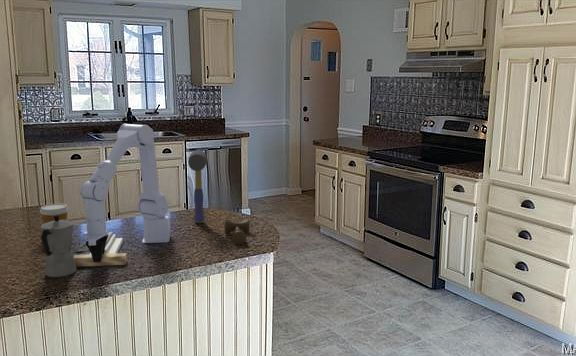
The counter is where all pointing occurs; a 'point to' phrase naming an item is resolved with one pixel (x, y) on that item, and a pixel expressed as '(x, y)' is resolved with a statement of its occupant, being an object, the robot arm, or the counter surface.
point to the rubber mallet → (198, 182)
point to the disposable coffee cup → (53, 212)
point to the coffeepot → (58, 247)
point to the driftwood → (83, 246)
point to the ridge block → (112, 244)
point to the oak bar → (106, 260)
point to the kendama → (237, 230)
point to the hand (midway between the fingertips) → (98, 259)
